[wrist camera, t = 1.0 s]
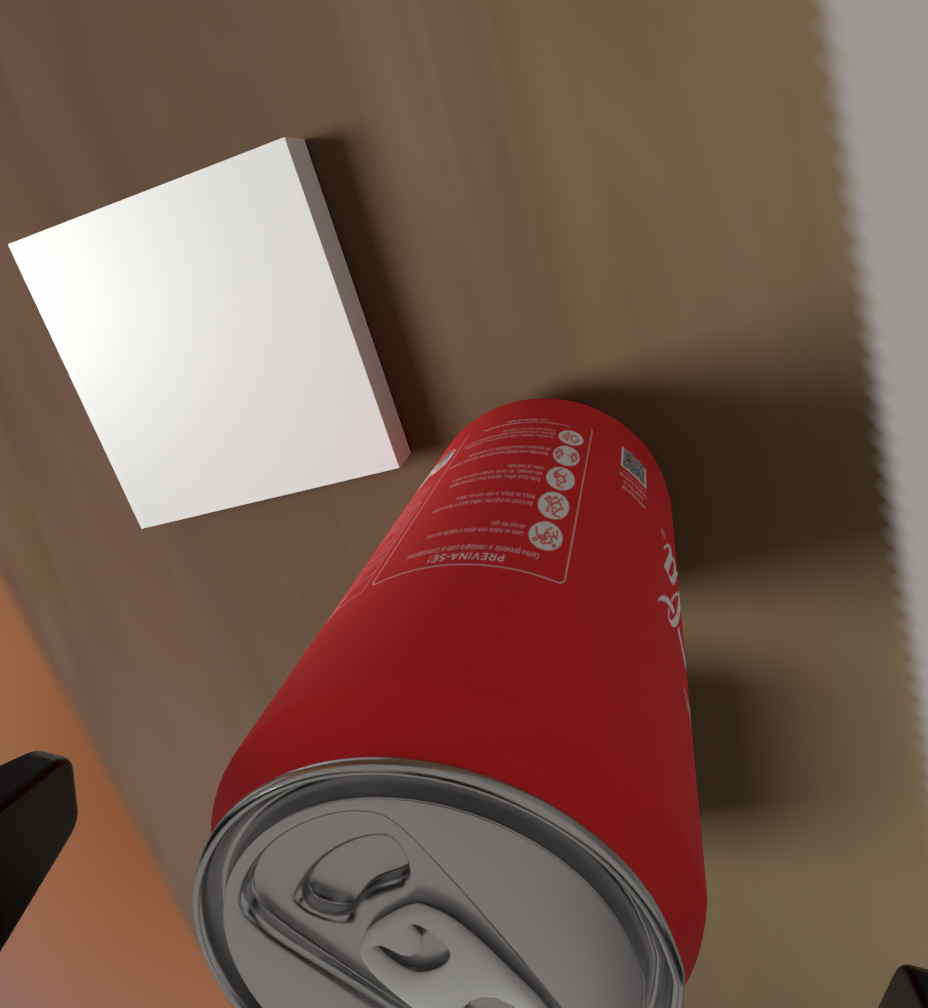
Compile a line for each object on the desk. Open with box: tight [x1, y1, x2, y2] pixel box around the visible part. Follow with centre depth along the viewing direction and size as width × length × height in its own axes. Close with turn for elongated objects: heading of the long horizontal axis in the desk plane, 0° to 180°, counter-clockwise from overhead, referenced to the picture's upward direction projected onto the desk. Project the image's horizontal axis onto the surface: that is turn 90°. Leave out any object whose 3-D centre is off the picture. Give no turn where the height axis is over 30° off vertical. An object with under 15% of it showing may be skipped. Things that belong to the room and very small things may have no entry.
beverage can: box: [193, 399, 707, 1008], centre depth 13 cm, size 5×5×12 cm
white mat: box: [8, 137, 411, 529], centre depth 18 cm, size 7×7×1 cm
